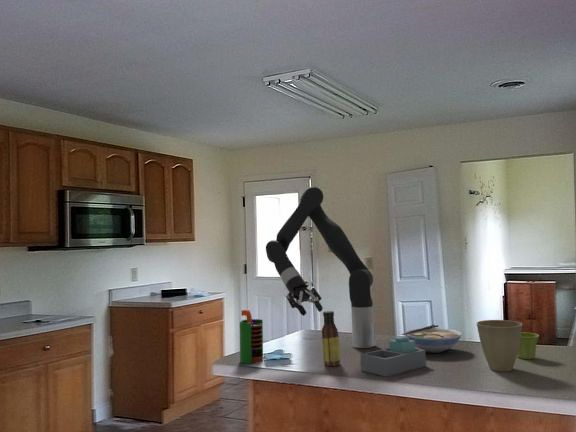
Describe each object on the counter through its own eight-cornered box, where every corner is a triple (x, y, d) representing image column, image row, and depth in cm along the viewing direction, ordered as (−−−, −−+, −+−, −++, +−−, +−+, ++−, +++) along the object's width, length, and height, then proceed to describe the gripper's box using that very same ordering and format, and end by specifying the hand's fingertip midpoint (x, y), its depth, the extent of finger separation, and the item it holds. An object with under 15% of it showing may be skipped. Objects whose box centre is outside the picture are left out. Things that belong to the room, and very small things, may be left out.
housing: (400, 360, 209) (399, 345, 209) (425, 366, 199) (425, 349, 199) (361, 370, 196) (360, 354, 196) (386, 376, 186) (385, 359, 187)
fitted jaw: (400, 359, 205) (400, 335, 206) (415, 363, 200) (414, 337, 200) (390, 362, 202) (389, 337, 202) (404, 365, 196) (403, 339, 196)
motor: (259, 364, 211) (257, 311, 211) (237, 363, 213) (235, 311, 213) (265, 358, 221) (264, 308, 221) (244, 357, 222) (242, 308, 223)
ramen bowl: (440, 360, 207) (439, 338, 207) (391, 352, 224) (391, 331, 225) (475, 349, 224) (474, 329, 224) (427, 342, 241) (426, 323, 241)
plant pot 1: (469, 368, 194) (467, 322, 195) (498, 362, 202) (496, 318, 202) (504, 376, 181) (502, 328, 182) (533, 370, 189) (531, 323, 189)
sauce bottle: (342, 363, 208) (340, 310, 209) (338, 367, 202) (336, 312, 203) (325, 362, 210) (323, 310, 211) (320, 366, 204) (319, 312, 205)
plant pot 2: (540, 355, 209) (539, 332, 210) (540, 361, 201) (538, 337, 201) (513, 354, 213) (512, 331, 214) (512, 359, 205) (511, 336, 205)
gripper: (302, 284, 232) (322, 315, 223) (275, 289, 223) (295, 321, 214) (310, 272, 227) (330, 303, 219) (283, 277, 218) (303, 309, 210)
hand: (313, 312), depth 216 cm, fingers open, 8 cm apart
